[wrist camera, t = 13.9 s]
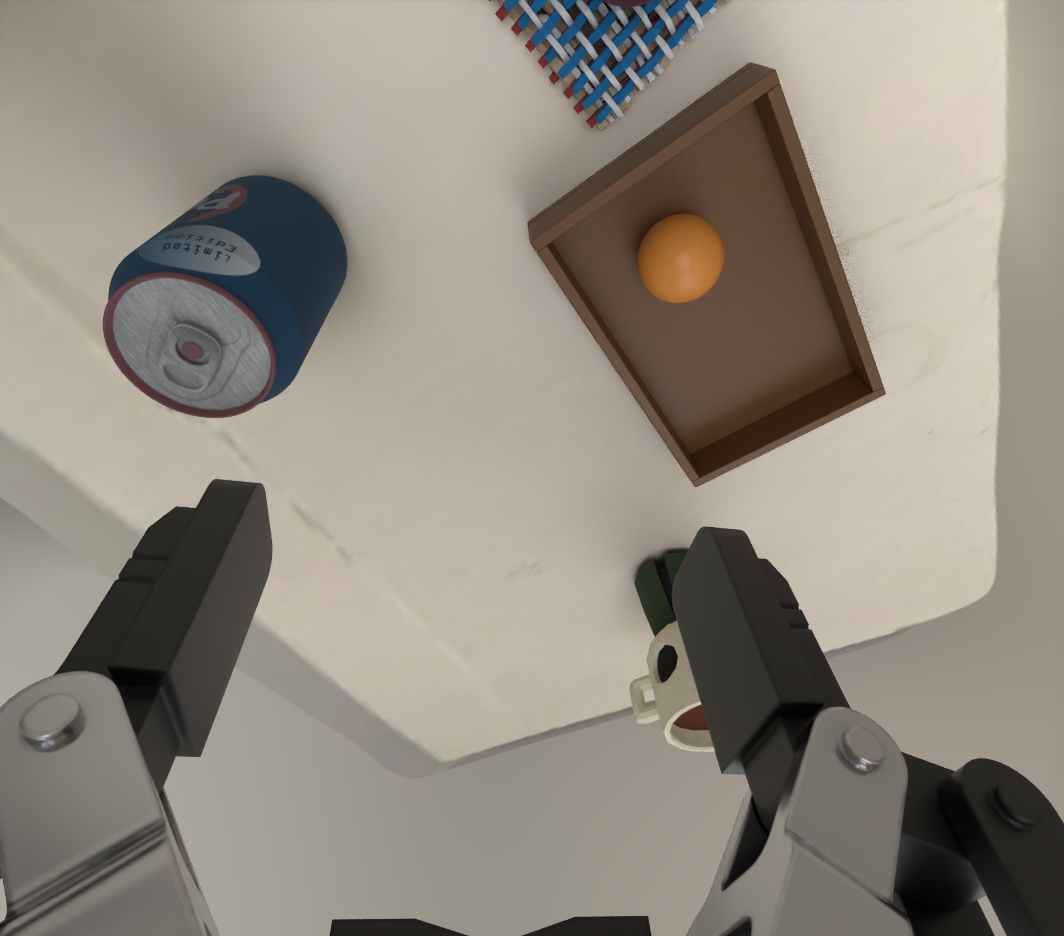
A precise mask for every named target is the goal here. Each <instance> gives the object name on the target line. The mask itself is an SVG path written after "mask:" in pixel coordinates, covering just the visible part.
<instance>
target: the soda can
mask: <svg viewBox="0 0 1064 936" xmlns="http://www.w3.org/2000/svg"><path fill="white" fill-rule="evenodd" d="M346 271H347V254H346V248H345V244H344V241H343V238H342V235H341V233H340V231H339V229H338V227H337V225H336V223H335V221H334V220H333V218H332V217H331V216H330V214H329V213H328V212H327V210H326V209H325V208H324V207H323V206H322V205H321V204H320V203H319V202H318V201H317V200H316V199H315V198H314V197H312V196H311V195H310V194H308V193H307V192H305V191H304V190H302V189H301V188H299V187H297V186H295V185H293V184H291V183H289V182H286V181H284V180H281V179H277V178H273V177H268V176H246V177H241V178H237V179H234V180H231V181H229V182H227V183H225V184H224V185H222V186H221V187H220V188H218V189H217V190H215V191H214V192H213V193H211V194H210V195H209V196H207V197H206V198H205V199H203V200H202V201H201V202H199V203H198V204H196V205H195V206H194V207H192V208H191V209H190V210H188V211H187V212H186V213H184V214H183V215H182V216H180V217H179V218H177V219H176V220H175V221H173V222H172V223H171V224H169V225H168V226H167V227H165V228H164V229H163V230H161V231H160V232H159V233H157V234H156V235H154V236H153V237H152V238H150V239H149V240H148V241H146V242H145V243H144V244H142V245H141V246H140V247H138V248H137V249H135V250H134V251H133V252H131V253H130V254H129V255H128V256H126V257H125V258H124V259H123V260H122V261H121V263H120V264H119V265H118V267H117V268H116V270H115V272H114V274H113V276H112V279H111V283H110V287H109V296H108V303H107V305H106V308H105V311H104V316H103V332H104V338H105V342H106V345H107V347H108V350H109V352H110V354H111V356H112V358H113V360H114V362H115V363H116V365H117V366H118V368H119V369H120V370H121V372H122V373H123V374H124V375H125V376H126V377H127V378H128V379H129V381H130V382H132V383H133V384H134V385H135V386H136V387H137V388H138V389H139V390H141V391H142V392H143V393H145V394H146V395H147V396H149V397H150V398H152V399H154V400H155V401H157V402H159V403H161V404H162V405H164V406H167V407H169V408H171V409H173V410H176V411H179V412H182V413H185V414H189V415H193V416H198V417H205V418H224V417H231V416H235V415H239V414H242V413H244V412H246V411H249V410H250V409H252V408H254V407H255V406H256V405H258V404H260V403H262V402H265V401H268V400H270V399H272V398H274V397H275V396H277V395H279V394H280V393H281V392H283V391H284V390H285V389H286V388H287V387H288V386H289V385H290V384H291V382H292V381H293V380H294V378H295V376H296V375H297V373H298V371H299V369H300V367H301V365H302V363H303V361H304V359H305V357H306V356H307V354H308V352H309V350H310V348H311V346H312V344H313V342H314V340H315V338H316V336H317V334H318V332H319V330H320V328H321V327H322V325H323V323H324V321H325V319H326V317H327V315H328V313H329V311H330V309H331V307H332V305H333V303H334V301H335V300H336V298H337V296H338V294H339V292H340V290H341V288H342V286H343V283H344V280H345V277H346Z"/></svg>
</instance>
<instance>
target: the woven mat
mask: <svg viewBox="0 0 1064 936" xmlns="http://www.w3.org/2000/svg"><path fill="white" fill-rule="evenodd" d="M489 1H490V0H489ZM716 1H717V0H654V1H652V2H650V3H647V4H644V5H641V6H636V7H619V6H614V5H611V4H608V3H607V4H608V5H609V6H610V7H611V8H610V9H609V10H608V9H607V8H606V6H605V5H604V3H603V1H602V0H562V1H561V2H559V0H533V1H532V2H531V4H530V5H529V4H528V3H527V2H528V0H499V2H500V3H501V4H502V6H501V7H500V8H499V10H498V11H497V12H496V13H495V14H496V15H497V16H498V17H499V19H500V20H501V21H503V19H504V18H505V17H506V16H507V14H508V13H509V14H510V16H511V17H512V18H513V19H514V21H515V22H516V23H515V24H514V25H513V26H512V28H511V29H512V30H513V31H514V33H515V34H516V35H518V34H519V33H520V32H521V31H523V32H524V33H525V34H526V36H527V37H528V38H529V39H530V40H529V41H528V42H527V44H526V45H525V46H526V47H527V49H528V50H529V51H530V52H531V51H532V50H533V49H534V47H536V48H537V49H538V51H539V52H540V53H541V54H542V57H541V58H540V59H539V60H538V62H539V64H540V65H541V66H542V67H543V69H544V67H545V66H546V65H547V64H548V63H549V65H550V66H551V67H552V69H553V70H554V71H553V73H552V74H551V76H550V77H549V79H550V80H551V82H552V83H553V84H555V83H556V82H557V81H558V79H559V78H560V79H561V80H562V81H563V82H564V83H565V85H566V86H567V89H566V90H565V91H564V92H563V93H564V94H565V95H566V97H567V98H568V99H569V98H570V97H571V96H572V95H574V96H575V97H576V99H577V100H578V101H579V102H578V103H577V104H576V105H575V106H574V107H573V108H574V110H575V111H576V112H577V113H578V114H579V113H580V112H581V111H582V110H583V109H585V110H586V111H587V113H588V114H589V115H590V118H589V119H588V120H587V121H586V122H587V123H588V124H589V125H590V127H591V128H593V127H594V126H595V125H596V124H597V125H598V127H599V128H600V129H601V130H602V129H604V128H605V127H606V126H608V125H609V123H610V122H611V123H613V122H614V121H615V120H616V119H615V118H614V117H613V116H612V115H611V114H610V112H611V111H612V110H613V111H614V112H615V113H616V115H617V116H618V117H619V119H620V118H622V117H624V115H623V113H622V112H621V111H623V110H625V109H626V108H628V107H630V106H631V98H630V95H629V93H630V92H631V91H632V89H633V88H634V86H635V87H636V88H637V90H638V91H639V90H641V91H642V90H643V88H644V87H645V86H646V85H647V84H648V83H649V81H650V82H652V81H653V80H654V79H655V78H656V77H655V76H654V74H653V73H652V71H651V70H652V69H654V70H655V71H656V73H657V74H658V75H659V76H660V75H661V74H662V73H663V72H664V70H663V69H666V68H667V66H668V64H669V62H670V61H671V60H672V58H673V57H674V54H673V52H672V51H671V49H672V48H673V47H675V46H676V45H677V44H678V45H679V47H680V48H682V47H683V45H684V44H685V42H684V41H683V39H684V37H685V35H686V33H688V35H689V36H690V38H691V39H692V38H695V37H697V36H696V34H695V32H694V30H693V28H692V26H691V25H693V24H694V23H695V22H696V25H697V27H698V30H699V32H700V31H701V30H702V29H704V28H705V25H704V23H703V21H702V19H701V17H702V16H703V15H705V14H706V13H707V12H709V13H710V15H711V16H712V15H713V13H714V12H715V11H716V8H715V7H714V6H713V5H714V4H715V3H716ZM729 1H731V0H724V2H725V4H726V3H728V2H729ZM574 3H575V4H576V5H577V6H578V8H579V9H580V12H579V13H578V14H577V15H576V16H575V18H574V19H572V18H571V16H570V15H569V14H568V12H567V10H568V9H569V8H570V7H571V6H572V5H573V4H574ZM683 7H684V8H685V9H686V11H687V12H688V13H687V14H686V15H685V14H684V13H683V11H682V10H681V9H682V8H683ZM541 8H543V10H544V11H545V12H546V14H545V15H536V13H537V12H538V11H539V10H540V9H541ZM652 10H654V11H655V12H656V13H657V15H656V16H655V17H654V19H653V20H652V21H651V22H650V20H649V18H648V16H647V15H648V14H649V13H650V12H651V11H652ZM547 15H548V16H549V17H548V16H547ZM617 17H618V18H619V20H620V21H621V23H622V24H621V25H619V24H618V23H617V21H616V18H617ZM586 20H588V22H589V23H590V24H591V26H592V27H593V29H592V30H591V31H590V32H589V33H588V35H587V36H586V37H585V35H584V34H583V32H582V31H581V30H580V29H581V27H582V26H583V24H584V23H585V21H586ZM543 22H544V23H543ZM664 26H666V28H667V30H668V32H669V33H668V34H667V35H666V36H665V37H664V38H662V37H661V36H660V35H659V33H660V32H661V31H662V29H663V28H664ZM551 32H552V33H553V35H554V36H555V37H556V38H557V39H555V37H554V36H553V35H552V34H551ZM629 36H631V37H632V38H633V40H634V42H632V41H631V40H630V39H629V38H628V37H629ZM600 38H601V39H602V40H603V41H604V44H603V46H602V47H601V48H600V50H599V51H598V52H597V51H596V50H595V49H594V47H593V46H592V45H593V44H594V43H596V42H597V41H598V40H599V39H600ZM563 47H564V48H565V50H566V51H567V52H568V53H569V55H567V53H566V52H565V50H564V49H563ZM640 51H642V52H643V54H644V55H645V57H646V58H645V59H643V57H642V55H641V54H640ZM612 53H613V55H614V56H615V58H616V60H617V61H616V62H615V63H614V64H613V65H612V66H611V67H610V68H609V67H608V66H607V65H606V63H605V62H606V61H607V60H608V58H609V57H610V56H611V54H612ZM577 65H578V66H579V67H580V68H581V70H582V71H581V72H580V71H579V69H578V68H577V67H576V66H577ZM624 71H625V73H626V74H627V77H625V78H624V79H623V80H622V81H621V82H619V81H618V80H617V77H618V76H619V75H620V74H621V73H622V72H624ZM588 80H590V81H591V82H592V84H593V85H594V86H593V87H592V86H591V85H590V84H589V83H588ZM601 96H602V97H603V98H604V99H605V100H604V101H603V103H602V101H601V99H600V97H601Z"/></svg>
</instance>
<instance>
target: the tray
mask: <svg viewBox="0 0 1064 936" xmlns="http://www.w3.org/2000/svg"><path fill="white" fill-rule="evenodd" d="M676 214H693V215H696V216H699V217H702V218H704V219H705V220H707V221H708V222H709V223H711V224H712V225H713V226H714V228H715V229H716V230H717V232H718V233H719V235H720V237H721V240H722V243H723V247H724V263H723V268H722V271H721V273H720V275H719V277H718V279H717V281H716V282H715V284H714V285H713V286H712V287H711V289H710V290H709V291H707V292H706V293H705V294H704V295H702V296H701V297H699V298H697V299H695V300H692V301H689V302H685V303H669V302H665V301H662V300H660V299H658V298H656V297H655V296H653V295H652V294H651V293H650V292H649V291H648V290H647V289H646V288H645V286H644V285H643V283H642V281H641V279H640V276H639V273H638V268H637V256H638V251H639V247H640V244H641V242H642V240H643V238H644V237H645V235H646V234H647V232H648V231H649V230H650V229H651V228H652V227H653V226H654V225H655V224H656V223H658V222H659V221H660V220H662V219H664V218H666V217H669V216H672V215H676ZM528 230H529V238H530V243H531V245H532V246H533V248H534V249H535V251H536V252H537V254H538V255H539V257H540V258H541V260H542V261H543V263H544V264H545V266H546V267H547V268H548V270H549V271H550V273H551V274H552V276H553V277H554V279H555V280H556V282H557V283H558V285H559V286H560V288H561V289H562V291H563V292H564V294H565V295H566V297H567V298H568V300H569V301H570V303H571V304H572V306H573V307H574V309H575V310H576V312H577V313H578V314H579V316H580V317H581V319H582V320H583V322H584V323H585V325H586V326H587V328H588V329H589V331H590V332H591V334H592V335H593V337H594V338H595V340H596V341H597V343H598V344H599V346H600V347H601V349H602V350H603V352H604V353H605V355H606V356H607V358H608V359H609V360H610V362H611V363H612V365H613V366H614V368H615V369H616V371H617V372H618V374H619V375H620V377H621V378H622V380H623V381H624V383H625V384H626V386H627V387H628V389H629V390H630V392H631V393H632V395H633V396H634V398H635V399H636V401H637V402H638V404H639V405H640V406H641V408H642V409H643V411H644V412H645V414H646V415H647V417H648V418H649V420H650V421H651V423H652V424H653V426H654V427H655V429H656V430H657V432H658V433H659V435H660V436H661V438H662V439H663V441H664V442H665V444H666V445H667V447H668V448H669V450H670V451H671V452H672V454H673V455H674V457H675V458H676V460H677V461H678V463H679V464H680V466H681V467H682V469H683V470H684V472H685V473H686V475H687V476H688V478H689V479H690V481H691V482H692V484H693V485H694V487H698V486H700V485H702V484H704V483H706V482H708V481H710V480H712V479H714V478H716V477H718V476H720V475H722V474H724V473H726V472H728V471H730V470H732V469H734V468H736V467H738V466H740V465H742V464H744V463H746V462H749V461H751V460H753V459H755V458H757V457H759V456H761V455H763V454H765V453H767V452H769V451H771V450H773V449H775V448H777V447H779V446H781V445H783V444H785V443H787V442H789V441H791V440H793V439H795V438H797V437H800V436H802V435H804V434H806V433H808V432H810V431H812V430H814V429H816V428H818V427H820V426H822V425H824V424H826V423H828V422H830V421H832V420H834V419H836V418H838V417H840V416H842V415H844V414H846V413H848V412H850V411H853V410H855V409H857V408H859V407H861V406H863V405H865V404H867V403H869V402H871V401H873V400H875V399H877V398H879V397H881V396H883V395H885V394H886V393H885V390H884V387H883V384H882V381H881V378H880V375H879V372H878V369H877V366H876V363H875V360H874V357H873V355H872V352H871V349H870V346H869V343H868V340H867V337H866V334H865V331H864V328H863V325H862V322H861V319H860V316H859V314H858V311H857V308H856V305H855V302H854V299H853V296H852V293H851V290H850V287H849V284H848V281H847V278H846V275H845V272H844V270H843V267H842V264H841V261H840V258H839V255H838V252H837V249H836V246H835V243H834V240H833V237H832V234H831V231H830V229H829V226H828V223H827V220H826V217H825V214H824V211H823V208H822V205H821V202H820V199H819V196H818V193H817V190H816V187H815V185H814V182H813V179H812V176H811V173H810V170H809V167H808V164H807V161H806V158H805V155H804V152H803V149H802V146H801V144H800V141H799V138H798V135H797V132H796V129H795V126H794V123H793V120H792V117H791V114H790V111H789V108H788V105H787V102H786V100H785V97H784V94H783V91H782V88H781V85H780V84H779V79H778V76H777V73H776V70H775V69H772V68H768V67H765V66H761V65H758V64H754V63H748V64H747V65H746V66H744V67H743V68H742V69H740V70H739V71H737V72H736V73H735V74H733V75H732V76H730V77H729V78H728V79H726V80H725V81H723V82H722V83H721V84H719V85H718V86H716V87H715V88H714V89H712V90H711V91H710V92H708V93H707V94H705V95H704V96H703V97H701V98H700V99H698V100H697V101H696V102H694V103H693V104H691V105H690V106H689V107H687V108H686V109H684V110H683V111H682V112H680V113H679V114H678V115H676V116H675V117H673V118H672V119H671V120H669V121H668V122H666V123H665V124H664V125H662V126H661V127H659V128H658V129H657V130H655V131H654V132H652V133H651V134H650V135H648V136H647V137H646V138H644V139H643V140H641V141H640V142H639V143H637V144H636V145H634V146H633V147H632V148H630V149H629V150H627V151H626V152H625V153H623V154H622V155H620V156H619V157H618V158H616V159H615V160H614V161H612V162H611V163H609V164H608V165H607V166H605V167H604V168H602V169H601V170H600V171H598V172H597V173H595V174H594V175H593V176H591V177H590V178H588V179H587V180H586V181H584V182H583V183H582V184H580V185H579V186H577V187H576V188H575V189H573V190H572V191H570V192H569V193H568V194H566V195H565V196H563V197H562V198H561V199H559V200H558V201H556V202H555V203H554V204H552V205H551V206H550V207H548V208H547V209H545V210H544V211H543V212H541V213H540V214H538V215H537V216H536V217H534V218H533V219H531V220H530V221H529V222H528Z"/></svg>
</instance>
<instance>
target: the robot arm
mask: <svg viewBox="0 0 1064 936" xmlns="http://www.w3.org/2000/svg"><path fill="white" fill-rule="evenodd" d="M271 561H272V538H271V530H270V523H269V515H268V508H267V500H266V493H265V489H264V486H263V485H262V484H261V483H252V482H241V481H231V480H220V479H215V480H213V481H212V482H211V483H210V484H209V486H208V487H207V489H206V491H205V493H204V494H203V496H202V498H201V500H200V502H199V503H198V505H197V507H196V508H189V507H177V506H176V507H175V508H174V509H172V510H171V511H170V512H168V513H167V514H166V515H164V516H163V517H162V518H160V519H159V520H158V521H157V522H155V523H154V524H153V525H151V526H150V527H149V528H148V529H147V531H146V533H145V534H144V536H143V537H142V539H141V541H140V542H139V544H138V545H137V547H136V549H135V550H134V552H133V556H132V558H129V560H128V561H127V563H126V564H125V566H124V568H123V569H122V571H121V572H120V574H119V579H118V580H115V582H114V583H113V585H112V587H111V588H110V590H109V591H108V593H107V594H106V596H105V598H104V599H103V601H102V602H101V604H100V606H99V607H98V609H97V610H96V612H95V613H94V615H93V617H92V618H91V620H90V621H89V623H88V625H87V626H86V628H85V629H84V631H83V632H82V634H81V636H80V637H79V639H78V640H77V642H76V644H75V645H74V647H73V648H72V650H71V651H70V653H69V655H68V656H67V658H66V659H65V661H64V662H63V664H62V665H61V667H60V668H59V669H58V671H57V672H56V673H55V674H54V675H53V676H50V677H48V678H45V679H42V680H40V681H38V682H35V683H33V684H31V685H29V686H28V687H26V688H25V689H23V690H21V691H19V692H18V693H17V694H15V695H14V696H13V697H11V698H10V699H9V700H8V701H7V702H6V703H5V704H4V705H2V706H1V707H0V879H1V878H2V879H3V884H4V889H5V895H6V902H7V915H6V918H5V920H4V921H2V922H1V923H0V936H220V935H219V932H218V930H217V927H216V925H215V922H214V920H213V918H212V915H211V913H210V910H209V908H208V905H207V903H206V900H205V898H204V895H203V892H202V890H201V887H200V884H199V881H198V879H197V876H196V873H195V871H194V868H193V865H192V862H191V860H190V857H189V854H188V852H187V849H186V846H185V843H184V841H183V838H182V835H181V833H180V830H179V827H178V824H177V822H176V819H175V816H174V814H173V811H172V808H171V806H170V803H169V800H168V798H167V795H166V792H165V789H164V787H163V786H164V784H165V781H166V779H167V777H168V774H169V772H170V769H171V767H172V764H173V762H174V759H175V757H176V756H185V757H186V756H187V757H200V756H201V754H202V751H203V748H204V746H205V743H206V740H207V738H208V735H209V732H210V730H211V727H212V724H213V722H214V719H215V717H216V714H217V711H218V709H219V706H220V703H221V700H222V698H223V695H224V693H225V690H226V688H227V684H228V682H229V680H230V677H231V674H232V671H233V669H234V666H235V664H236V661H237V658H238V656H239V653H240V650H241V648H242V645H243V642H244V640H245V637H246V634H247V632H248V629H249V627H250V624H251V621H252V619H253V616H254V613H255V611H256V608H257V605H258V603H259V600H260V597H261V595H262V592H263V589H264V587H265V584H266V581H267V579H268V575H269V572H270V567H271ZM672 603H673V609H674V613H675V616H676V620H677V623H678V626H679V630H680V633H681V637H682V640H683V644H684V647H685V650H686V654H687V657H688V661H689V664H690V667H691V671H692V674H693V678H694V681H695V685H696V688H697V691H698V695H699V698H700V702H701V705H702V709H703V712H704V715H705V719H706V722H707V726H708V729H709V733H710V736H711V739H712V743H713V746H714V750H715V753H716V757H717V760H718V763H719V767H720V770H721V773H722V774H746V777H747V780H748V784H749V786H750V790H749V791H748V792H747V793H746V795H745V797H744V799H743V802H742V804H741V807H740V810H739V813H738V816H737V818H736V821H735V824H734V827H733V830H732V832H731V835H730V838H729V841H728V844H727V847H726V849H725V852H724V854H723V857H722V860H721V863H720V866H719V868H718V871H717V874H716V877H715V879H714V882H713V885H712V888H711V890H710V893H709V895H708V897H707V899H706V901H705V903H704V905H703V907H702V908H701V910H700V912H699V913H698V915H697V916H696V918H695V920H694V921H693V923H692V925H691V927H690V929H689V931H688V933H687V935H686V936H994V934H993V932H992V929H991V927H990V926H989V923H988V921H987V919H986V917H985V915H984V913H983V911H982V909H981V907H980V905H979V903H978V901H977V900H978V899H980V898H982V897H984V896H986V895H987V897H988V899H989V901H990V903H991V905H992V907H993V909H994V911H995V913H996V915H997V917H998V919H999V921H1000V923H1001V925H1002V927H1003V929H1004V931H1005V933H1006V935H1007V936H1064V823H1063V822H1062V820H1061V818H1060V817H1059V815H1058V814H1057V812H1056V810H1055V809H1054V808H1053V806H1052V805H1051V803H1050V802H1049V801H1048V799H1047V798H1046V797H1045V796H1044V795H1043V794H1042V792H1041V791H1040V790H1039V789H1038V788H1037V787H1036V786H1035V785H1033V784H1032V783H1031V782H1030V781H1029V780H1028V779H1026V778H1025V777H1024V776H1023V775H1021V774H1020V773H1018V772H1017V771H1015V770H1013V769H1012V768H1010V767H1009V766H1006V765H1004V764H1002V763H1000V762H997V761H994V760H990V759H983V758H978V759H974V760H971V761H969V762H968V763H966V764H965V765H964V766H963V767H961V768H960V769H958V770H957V771H956V772H955V771H952V770H950V769H947V768H944V767H941V766H939V765H936V764H933V763H930V762H928V761H925V760H922V759H919V758H916V757H914V756H911V755H908V754H905V753H903V752H901V751H900V749H899V748H898V746H897V745H896V743H895V741H894V740H893V739H892V738H891V737H890V735H889V734H888V733H887V732H886V731H885V730H884V729H883V728H882V727H881V726H880V725H878V724H877V723H876V722H875V721H873V720H872V719H870V718H869V717H867V716H866V715H864V714H862V713H860V712H857V711H855V710H852V709H851V708H850V706H849V704H848V702H847V701H846V699H845V697H844V695H843V692H842V691H841V689H840V687H839V685H838V682H837V680H836V679H835V676H834V675H833V672H832V670H831V668H830V666H829V664H828V662H827V660H826V658H825V656H824V654H823V652H822V650H821V648H820V646H819V644H818V642H817V640H816V638H815V636H814V634H813V632H812V630H809V629H808V625H809V624H808V622H807V620H806V618H805V616H804V614H803V612H802V610H799V608H798V607H799V604H798V602H797V600H796V598H795V596H794V594H793V592H792V590H791V588H790V586H789V584H788V582H787V580H786V579H785V578H784V577H783V576H782V575H781V574H780V573H779V572H778V571H777V570H776V568H775V567H774V566H773V565H772V564H771V563H770V562H769V561H768V560H767V559H759V558H758V557H757V555H756V553H755V551H754V548H753V546H752V544H751V542H750V540H749V538H748V536H747V534H746V533H745V532H744V531H742V530H736V529H725V528H715V527H702V528H701V529H700V530H699V531H698V532H697V534H696V536H695V538H694V540H693V542H692V544H691V546H690V548H689V550H688V552H687V554H686V556H685V559H684V561H683V563H682V565H681V567H680V569H679V571H678V573H677V575H676V577H675V580H674V583H673V589H672ZM330 936H467V935H464V934H461V933H458V932H455V931H452V930H449V929H446V928H442V927H439V926H436V925H433V924H430V923H426V922H424V921H420V920H417V919H345V920H343V919H342V920H341V919H340V920H332V925H331V931H330ZM523 936H651V931H650V925H649V919H648V916H615V917H614V916H609V917H608V916H606V917H573V918H571V919H568V920H565V921H562V922H559V923H556V924H554V925H551V926H548V927H545V928H542V929H540V930H537V931H534V932H531V933H528V934H526V935H523Z"/></svg>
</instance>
